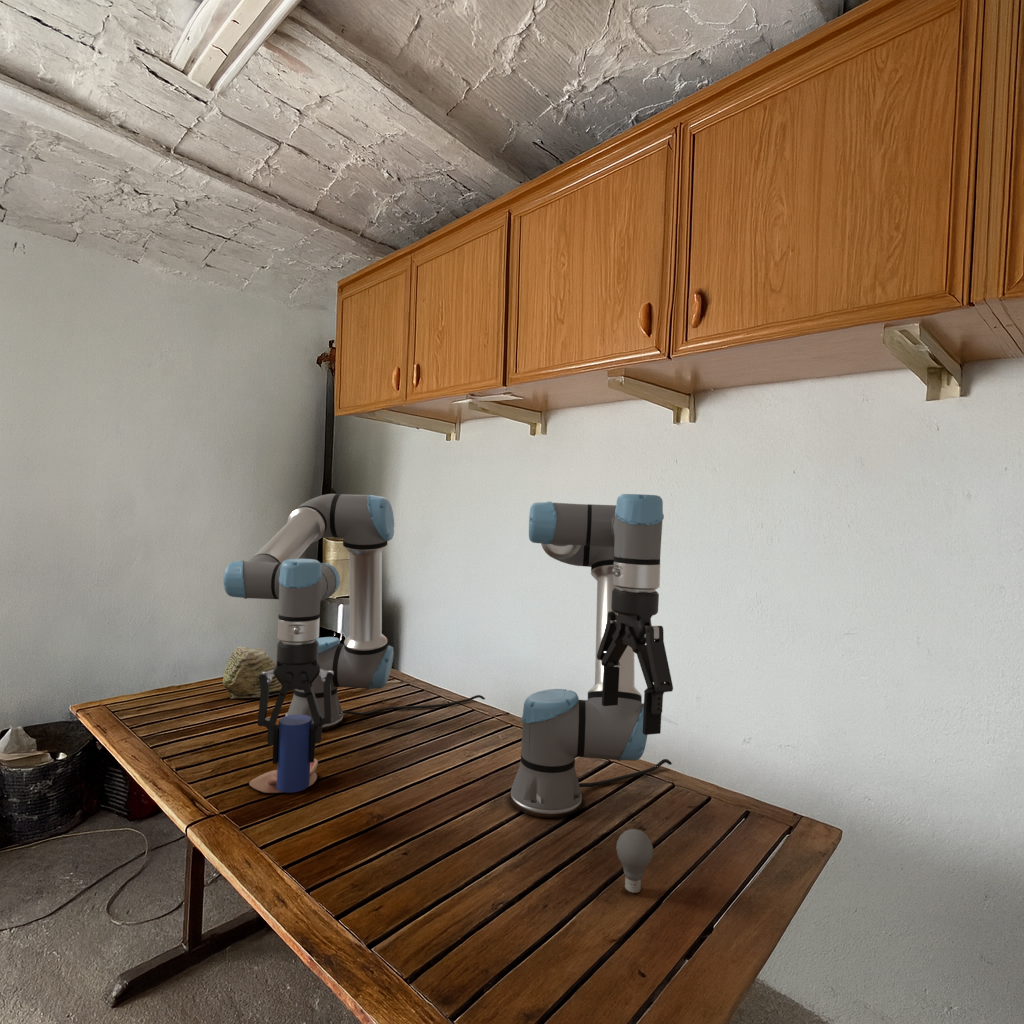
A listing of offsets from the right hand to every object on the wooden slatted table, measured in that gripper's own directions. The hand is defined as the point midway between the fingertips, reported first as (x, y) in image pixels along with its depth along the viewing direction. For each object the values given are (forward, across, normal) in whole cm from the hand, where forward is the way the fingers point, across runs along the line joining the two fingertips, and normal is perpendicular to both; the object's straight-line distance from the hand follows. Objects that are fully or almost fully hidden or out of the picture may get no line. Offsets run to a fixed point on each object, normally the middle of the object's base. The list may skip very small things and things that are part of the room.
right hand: (629, 718), depth 103 cm
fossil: (+30, -121, -63) cm, 139 cm away
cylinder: (+22, -36, -51) cm, 67 cm away
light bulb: (+30, -1, +3) cm, 30 cm away
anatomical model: (+30, -56, -53) cm, 82 cm away
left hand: (+17, -36, -51) cm, 65 cm away
